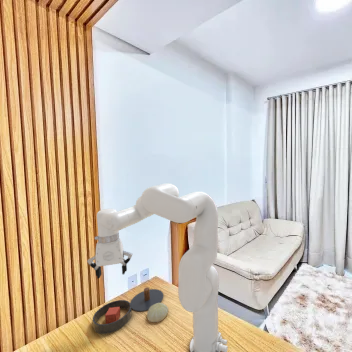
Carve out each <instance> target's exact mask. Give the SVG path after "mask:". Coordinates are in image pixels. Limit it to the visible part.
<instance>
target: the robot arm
mask: <svg viewBox="0 0 352 352" xmlns="http://www.w3.org/2000/svg"><path fill="white" fill-rule="evenodd" d="M153 215H156V216H158V217H161V218H163V219H166V220H168V221H170V222H174V223H177V224H184V223H187V222H189V221H191V220H193V219H195V218H196V220H195V224H194V226H193V241H192V246H191V247H190V248H189V249H188V250H186V252H185V253H184V254H183V255H182V256H181V258H180V261H179V264H178V278H177V279H178V280H177V281H178V287H177V290H178V291H177V293H178V295H177V296H178V301H179V303H180V305H181V307H182V309H184V310H185V311H186V312H189V313H192V329H193V330H192V331H193V334H192V335H193V337H192V339H190V342H189V352H228V350H229V346H228V345H227V344H228V339H224V338H223V336H222V332H220V331H219V288H220V287H219V286H220V275H219V272H218V270H217V268H216V267H215V266H213V265H214V264H215V262H216V260H217V258H218V226H219V211H218V206H217V204H216V202H215V200H214V199H213V197H211V196H210V195H209V194H208V193H206V192H204V191H193V192H189V193H187V194H184V195H181V196H180V191H179V188H178V187H177V186H176V185H174V184H173V183H168V182H166V183H161V184H156V185H152V186H149V187H147V188H146V189H145V190H144V191H143V192H142V194H141V196H139V197H138V198H137V200H136V202H135V205H133V206H130V207H127V208H124V209H121V210H117V209H116V208H104V209H101V210H98V212H97V213H96V223H97V224H96V225H97V236H94V241H97V243H96V244H95V245H96V246H95V255H93V256H92V257H89V258H88V259H87V261H86V262H87V263H88V265H89V266H90V267H91V269H93V270H94V271H95V276H96V279H100V278H101V276H102V267H106V266H113V265H119V264H121V274H122V275H125V273H126V272H127V270H128V265H127V264H128V263H129V262H130V261H131V259H132V257H133V253H132V252H129V251H126V250H125V249H124V245H123V241H122V238H121V237H120V232H119V231H122V230H123V229H126V228H128V227H130V226H132V225H135V224H138V223H139V222H141V221H143V220H145V219H147V218H149V217H151V216H153ZM125 257H127V258H125ZM94 261H95V262H94Z"/></svg>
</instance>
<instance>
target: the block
mask: <svg viewBox="0 0 352 352" xmlns="http://www.w3.org/2000/svg"><path fill="white" fill-rule="evenodd" d="M120 318H121V308H120V307H113V308H109V310H108V311H107V313H106V314H104V319H105V324H109V323H112V322H115V321H117V320H119V319H120Z"/></svg>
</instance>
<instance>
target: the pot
mask: <svg viewBox="0 0 352 352" xmlns="http://www.w3.org/2000/svg"><path fill="white" fill-rule="evenodd" d="M113 307H120V309H125V310H128V311H127V312H126V314H124V315H123V316H122V317H119V319H118V320H117V321H115V322H112V323H109V324H106V323H104V324H103V323H101V324H100V323H97V322H98V321H99V320H100V319H101V318H102V317H103V316H105V315H106V313H107V311H108V310H109V308H113ZM132 311H133V310H132V308H131V301H128V300H126V299H118V300H113V301H111V302H110V301H109V302H108V303H106V304H104V305H102V306H101V307H99V309H97V310H96V311H95V312H94V314H93V316H92V327H93V331H94V332H95V333H96V334H98V335H106V334H112V333H114V332H116V331H119V330H120V329H122V328H123V327H125V326H126V325H127V324H128V323H129V321H130V320H131V319H132V315H133V313H132Z"/></svg>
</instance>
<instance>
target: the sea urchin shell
mask: <svg viewBox="0 0 352 352" xmlns="http://www.w3.org/2000/svg"><path fill="white" fill-rule="evenodd" d="M146 312H147V313H146V318H147V320H148V321H149V322H150V323H159V322H162V321H163V320H164V319H165V318H166V317H167V316H168V314H169V307H168V306H167V305H166V304H165V303H163V302H161V303H156V304H154V305H152V306H151V307H150V308H149V310H148V311H146Z"/></svg>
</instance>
